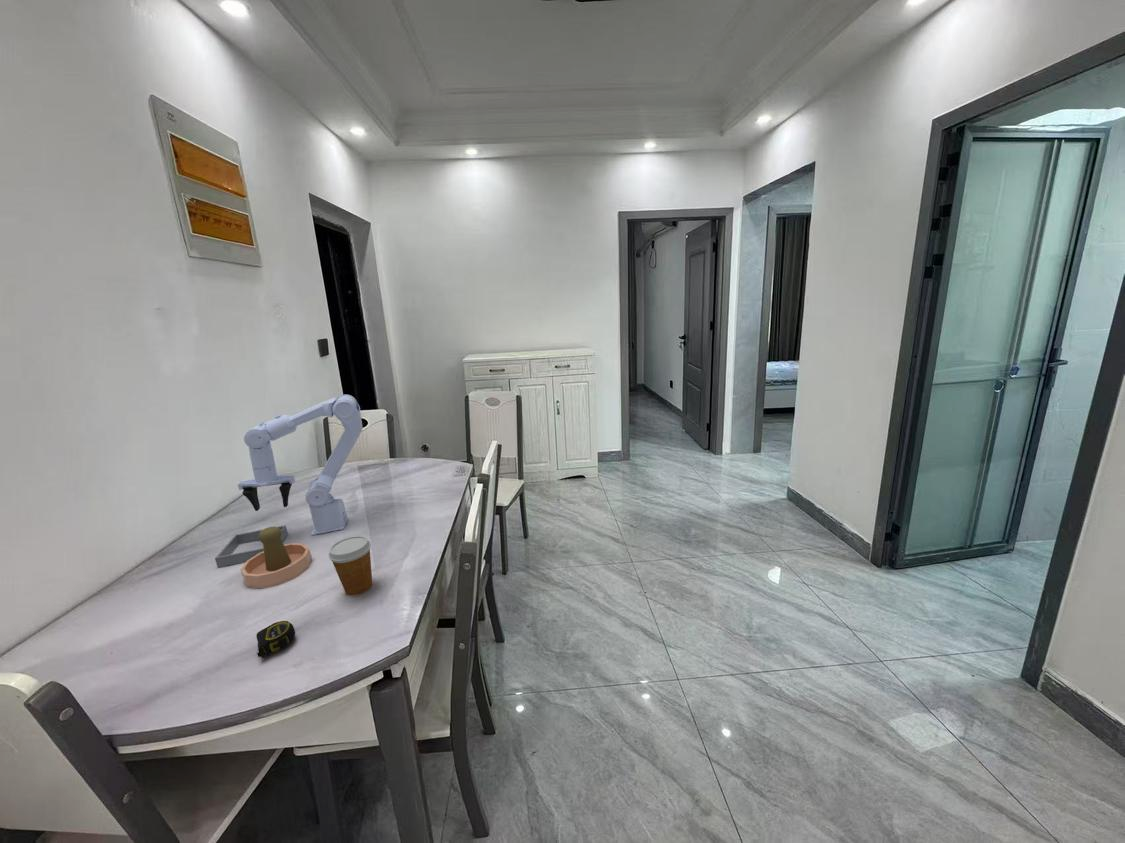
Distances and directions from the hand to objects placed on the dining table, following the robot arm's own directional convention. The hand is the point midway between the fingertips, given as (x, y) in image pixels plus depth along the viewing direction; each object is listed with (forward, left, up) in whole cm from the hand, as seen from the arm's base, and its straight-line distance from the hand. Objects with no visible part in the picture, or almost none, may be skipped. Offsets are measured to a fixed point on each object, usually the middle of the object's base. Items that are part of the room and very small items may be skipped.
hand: (272, 507), depth 140 cm
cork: (-5, +19, -10) cm, 22 cm away
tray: (+5, +5, -10) cm, 13 cm away
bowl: (-6, +21, -11) cm, 24 cm away
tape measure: (-14, +54, -11) cm, 57 cm away
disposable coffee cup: (-29, +39, -11) cm, 49 cm away
